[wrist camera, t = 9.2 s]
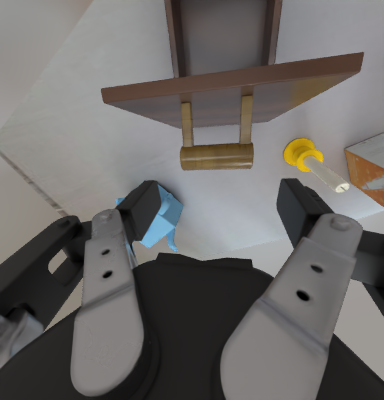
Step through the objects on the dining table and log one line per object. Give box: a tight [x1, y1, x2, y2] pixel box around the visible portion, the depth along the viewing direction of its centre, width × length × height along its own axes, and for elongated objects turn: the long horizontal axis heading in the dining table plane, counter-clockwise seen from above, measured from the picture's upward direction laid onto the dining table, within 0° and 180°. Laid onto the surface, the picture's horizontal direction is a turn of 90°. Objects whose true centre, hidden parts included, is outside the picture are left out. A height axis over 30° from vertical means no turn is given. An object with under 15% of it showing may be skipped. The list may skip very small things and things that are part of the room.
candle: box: [284, 138, 350, 193], centre depth 26 cm, size 5×5×16 cm
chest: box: [165, 0, 282, 78], centre depth 25 cm, size 18×14×6 cm
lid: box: [101, 52, 364, 170], centre depth 18 cm, size 18×14×5 cm
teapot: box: [115, 185, 183, 252], centre depth 41 cm, size 16×18×11 cm
